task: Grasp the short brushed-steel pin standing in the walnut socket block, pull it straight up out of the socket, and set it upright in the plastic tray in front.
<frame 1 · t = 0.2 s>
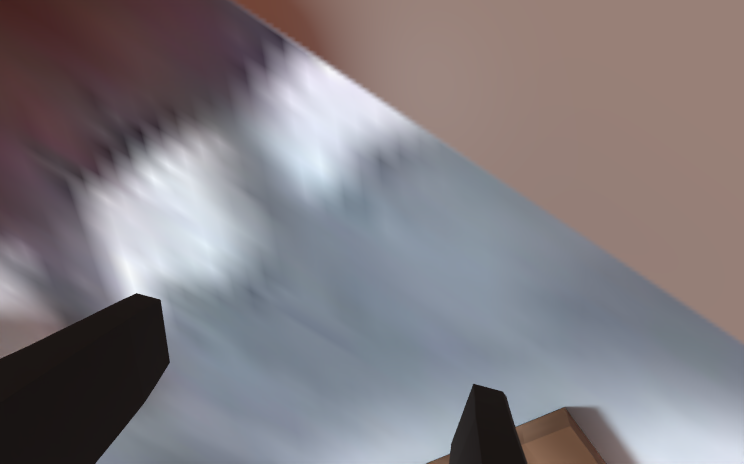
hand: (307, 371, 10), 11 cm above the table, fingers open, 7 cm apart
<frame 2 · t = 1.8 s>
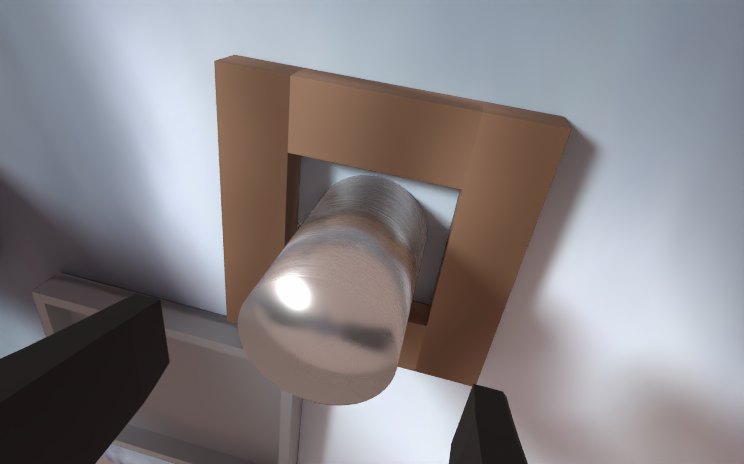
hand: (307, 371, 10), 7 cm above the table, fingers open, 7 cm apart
tray: (187, 379, 22), on the table
steel pin: (370, 228, 16), resting in socket block
socket block: (370, 228, 16), on the table
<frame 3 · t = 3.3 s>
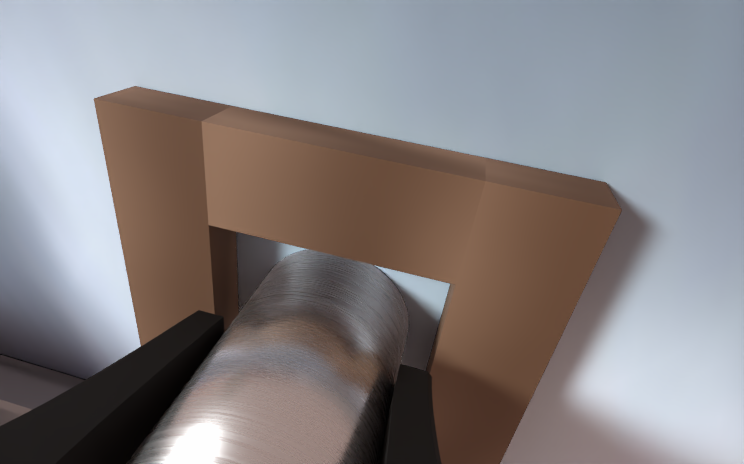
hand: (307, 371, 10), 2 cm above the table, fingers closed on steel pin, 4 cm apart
steel pin: (333, 313, 12), resting in socket block, touching gripper
socket block: (333, 314, 12), on the table
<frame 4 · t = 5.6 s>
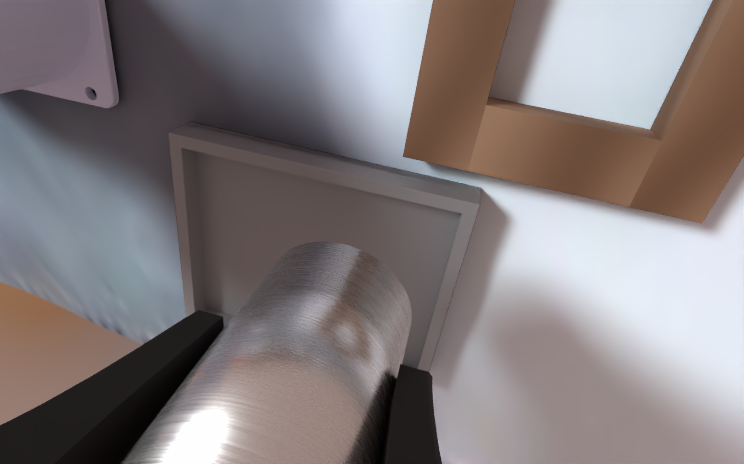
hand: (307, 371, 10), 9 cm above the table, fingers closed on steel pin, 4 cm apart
tray: (319, 256, 20), on the table
steel pin: (336, 307, 12), point 7 cm above the table, touching gripper
socket block: (599, 25, 14), on the table
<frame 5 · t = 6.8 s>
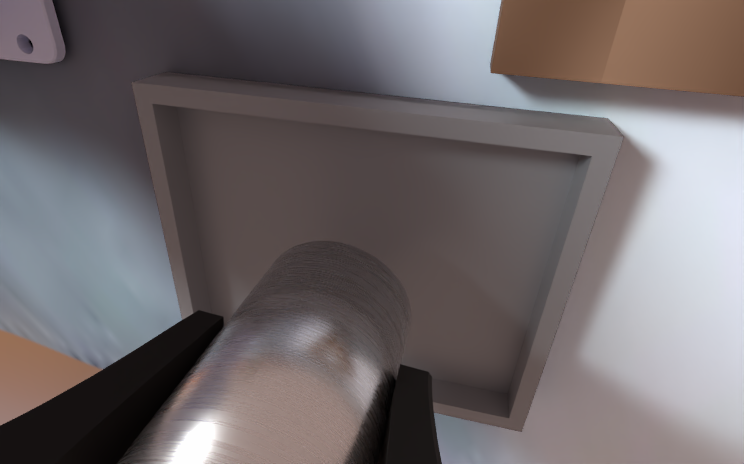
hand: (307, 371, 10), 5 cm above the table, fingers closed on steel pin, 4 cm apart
tray: (361, 251, 14), on the table
steel pin: (336, 306, 12), point 3 cm above the table, touching gripper
when the fingers open (3 cm above the table, at t = 7.9 s): steel pin stays where it is, resting on tray.
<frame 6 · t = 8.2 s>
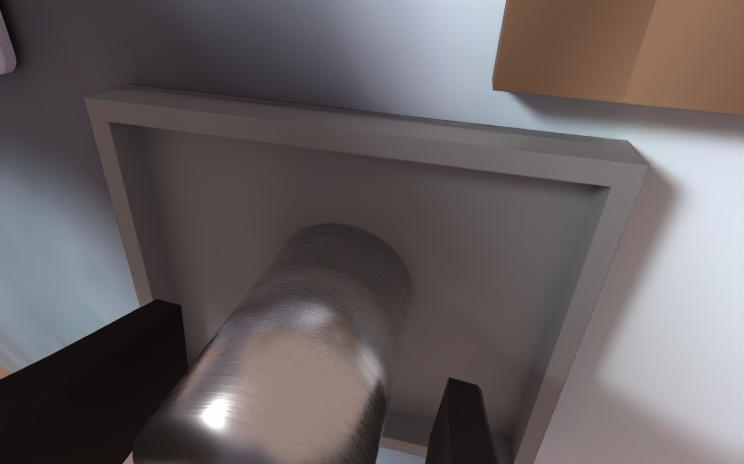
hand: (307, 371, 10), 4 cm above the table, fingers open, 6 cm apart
tray: (348, 281, 13), on the table
steel pin: (342, 286, 12), point 1 cm above the table, touching tray
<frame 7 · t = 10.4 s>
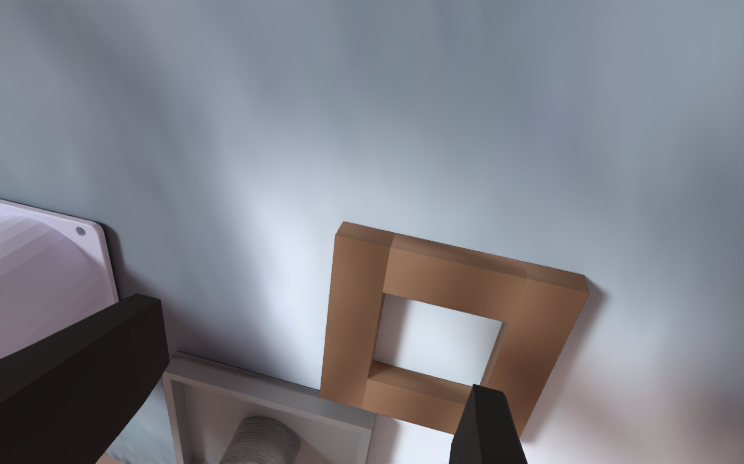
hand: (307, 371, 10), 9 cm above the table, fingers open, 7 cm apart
tray: (273, 432, 28), on the table
steel pin: (269, 438, 27), point 1 cm above the table, touching tray
socket block: (435, 335, 21), on the table
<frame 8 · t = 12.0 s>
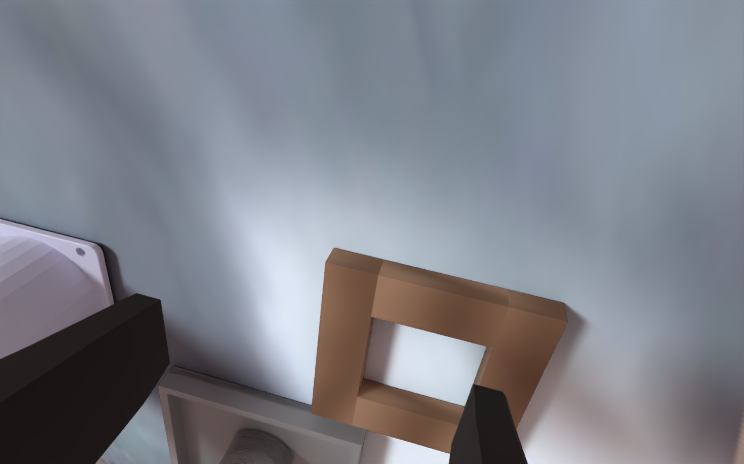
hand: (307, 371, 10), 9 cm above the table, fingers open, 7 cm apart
tray: (267, 444, 28), on the table
steel pin: (262, 450, 28), point 1 cm above the table, touching tray
socket block: (422, 356, 22), on the table
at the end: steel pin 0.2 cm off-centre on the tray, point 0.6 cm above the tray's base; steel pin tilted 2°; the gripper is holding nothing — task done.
